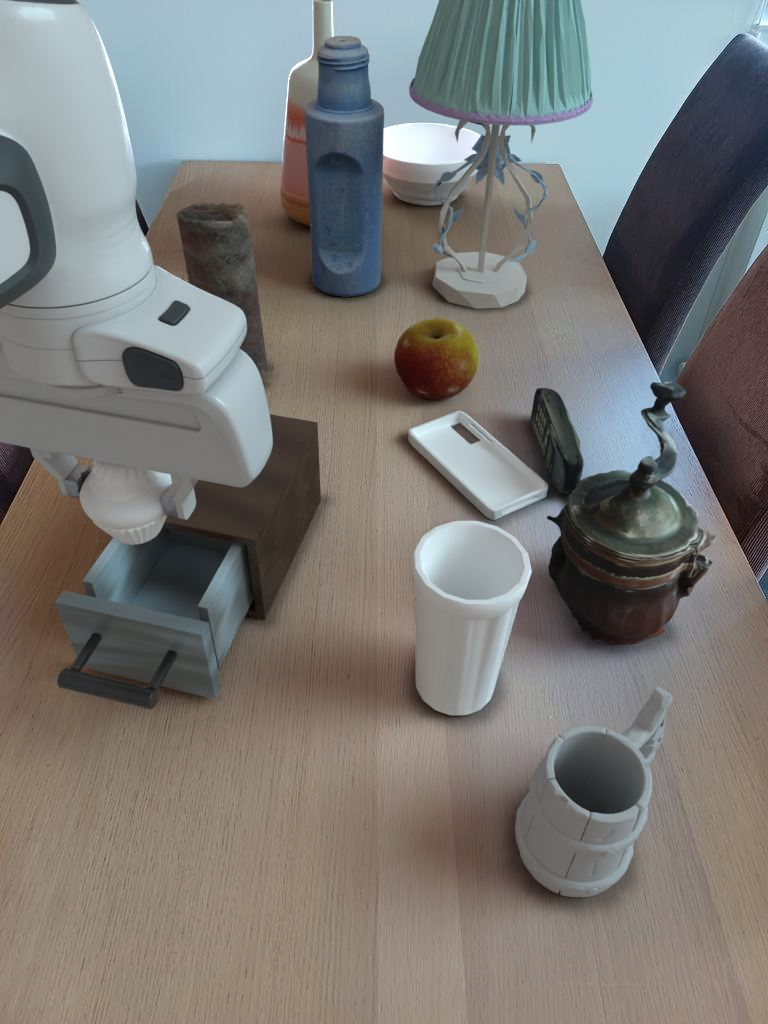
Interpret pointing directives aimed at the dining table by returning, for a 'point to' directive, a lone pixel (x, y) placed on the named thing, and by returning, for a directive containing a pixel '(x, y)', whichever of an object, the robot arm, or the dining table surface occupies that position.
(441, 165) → the bowl
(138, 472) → the muffin
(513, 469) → the phone case
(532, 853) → the mug
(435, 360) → the fruit
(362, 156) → the bottle
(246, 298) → the dark brown hollow tube
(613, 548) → the coffee grinder
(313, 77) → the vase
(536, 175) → the table lamp
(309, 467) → the cabinet
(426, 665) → the cup
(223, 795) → the dining table surface
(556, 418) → the mobile phone
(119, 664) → the drawer
